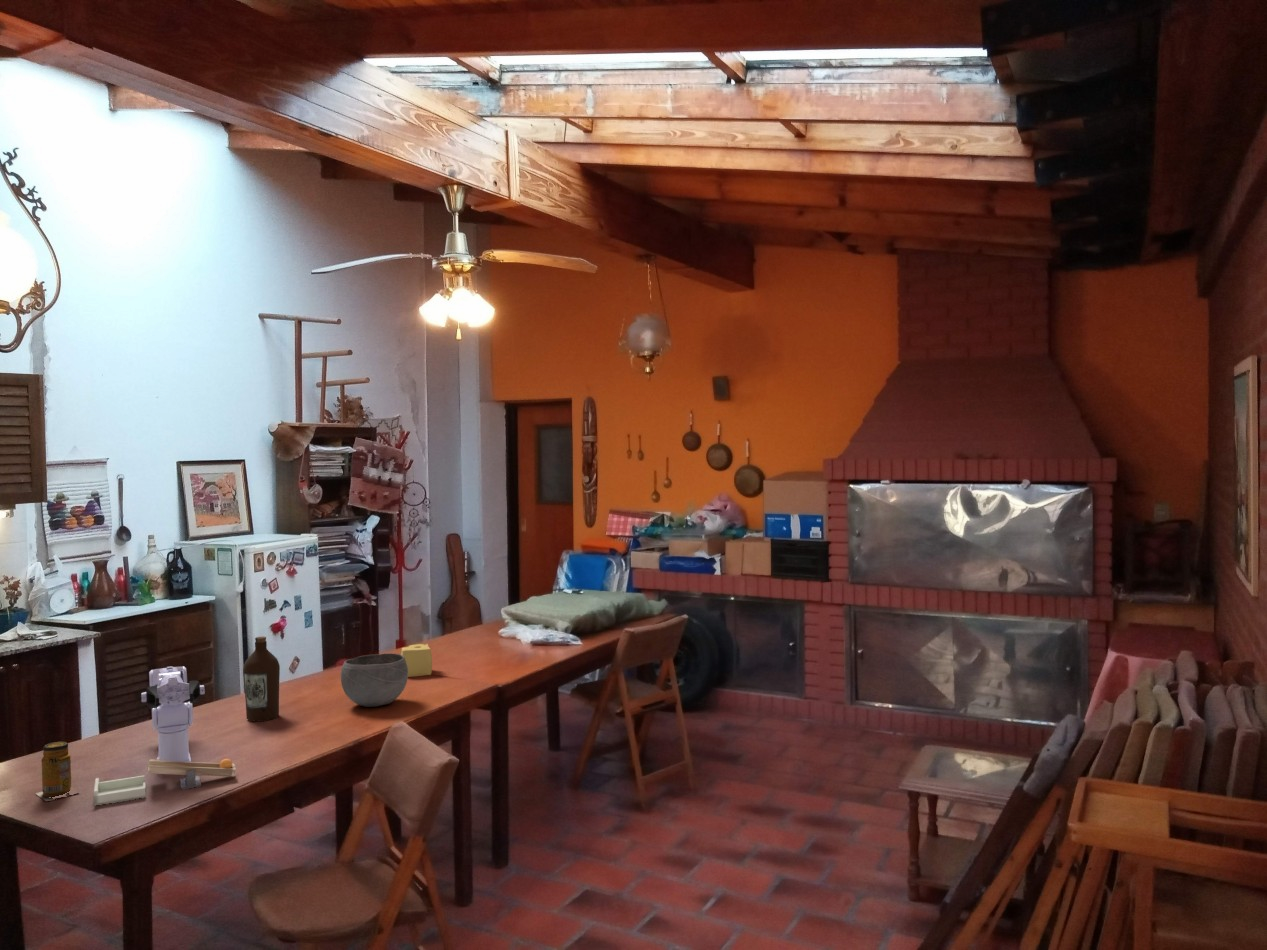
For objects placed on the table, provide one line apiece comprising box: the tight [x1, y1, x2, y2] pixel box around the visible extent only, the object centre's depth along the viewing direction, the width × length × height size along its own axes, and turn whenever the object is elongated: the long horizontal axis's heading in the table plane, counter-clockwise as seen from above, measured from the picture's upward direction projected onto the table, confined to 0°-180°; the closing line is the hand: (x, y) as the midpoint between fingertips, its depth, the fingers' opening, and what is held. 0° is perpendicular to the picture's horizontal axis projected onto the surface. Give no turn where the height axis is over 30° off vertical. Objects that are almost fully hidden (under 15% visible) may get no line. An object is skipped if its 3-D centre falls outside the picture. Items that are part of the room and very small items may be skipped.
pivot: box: [179, 770, 202, 790], centre depth 239 cm, size 7×4×4 cm, turn 27°
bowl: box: [340, 652, 409, 708], centre depth 311 cm, size 21×21×15 cm
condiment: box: [35, 741, 72, 802], centre depth 233 cm, size 7×8×12 cm
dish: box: [93, 775, 147, 807], centre depth 232 cm, size 10×11×4 cm
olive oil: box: [242, 636, 281, 722], centre depth 298 cm, size 11×11×25 cm
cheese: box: [400, 643, 433, 678], centre depth 354 cm, size 10×11×10 cm
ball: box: [219, 758, 233, 768], centre depth 243 cm, size 3×3×3 cm
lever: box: [147, 758, 237, 777], centre depth 242 cm, size 11×20×2 cm, turn 118°
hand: (174, 699), depth 239 cm, fingers open, 7 cm apart
